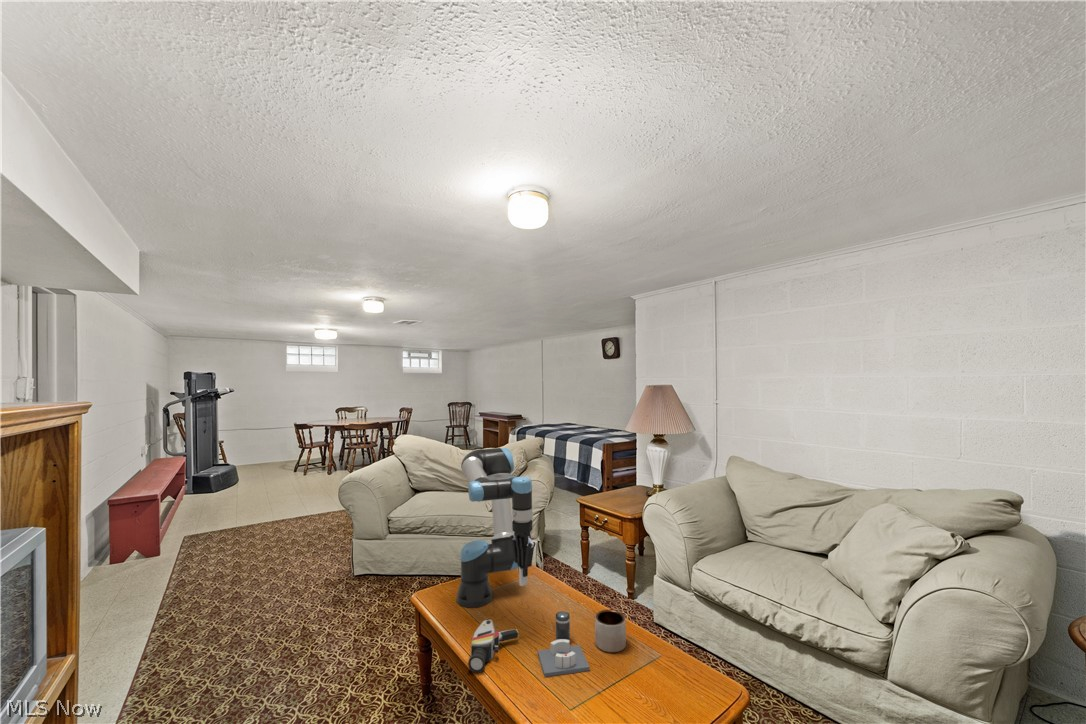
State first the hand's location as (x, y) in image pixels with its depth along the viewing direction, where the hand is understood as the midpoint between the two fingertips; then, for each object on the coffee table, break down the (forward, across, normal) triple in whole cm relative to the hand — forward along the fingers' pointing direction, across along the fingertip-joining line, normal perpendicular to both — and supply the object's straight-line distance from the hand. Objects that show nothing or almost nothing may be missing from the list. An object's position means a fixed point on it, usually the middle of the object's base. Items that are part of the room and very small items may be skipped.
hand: (523, 584), depth 165 cm
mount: (+19, +20, +1) cm, 28 cm away
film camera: (+19, +2, -14) cm, 24 cm away
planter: (+19, +24, +21) cm, 37 cm away
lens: (+19, +11, +9) cm, 24 cm away
